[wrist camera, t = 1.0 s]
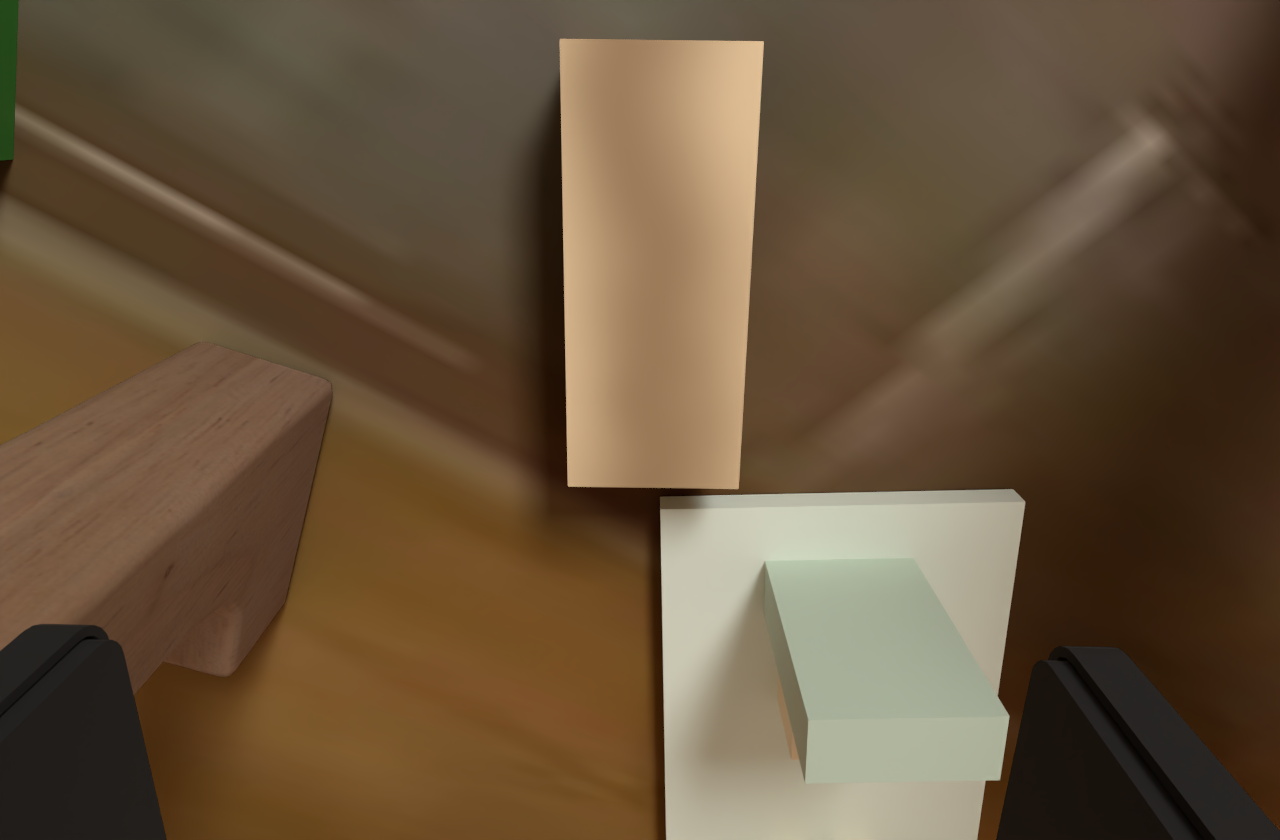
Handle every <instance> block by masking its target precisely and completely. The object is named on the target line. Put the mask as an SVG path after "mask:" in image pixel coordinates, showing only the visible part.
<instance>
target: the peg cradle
mask: <svg viewBox="0 0 1280 840" xmlns="http://www.w3.org/2000/svg"><path fill="white" fill-rule="evenodd" d="M1024 509H1025V501H1024V500H1023V499H1022V498H1021V497H1020V496H1019V495H1018V494H1017V493H1016V492H1015V491H1014V490H1013V489H997V490H949V491H902V492H854V493H806V494H759V495H711V496H664V497H660V535H661V591H662V647H663V703H664V759H665V815H666V840H977V837H978V830H979V823H980V816H981V809H982V802H983V795H984V788H985V781H986V780H1000V777H1001V770H1002V763H1003V757H1004V750H1005V744H1006V737H1007V730H1008V724H1009V717H1010V716H1009V715H1008V713H1007V711H1006V710H1005V708H1004V706H1003V705H1002V703H1001V701H1000V700H999V698H998V690H999V683H1000V676H1001V669H1002V662H1003V655H1004V648H1005V641H1006V634H1007V627H1008V620H1009V613H1010V606H1011V599H1012V592H1013V585H1014V578H1015V572H1016V565H1017V558H1018V551H1019V544H1020V537H1021V530H1022V523H1023V516H1024Z"/></svg>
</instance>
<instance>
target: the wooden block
mask: <svg viewBox="0 0 1280 840" xmlns="http://www.w3.org/2000/svg"><path fill="white" fill-rule="evenodd" d="M332 394H333V393H332V385H331V383H330V382H329V381H327V380H326V379H323V378H320V377H317V376H314V375H311V374H307V373H304V372H301V371H298V370H295V369H291V368H288V367H285V366H282V365H279V364H275V363H272V362H269V361H266V360H263V359H259V358H256V357H253V356H250V355H247V354H243V353H240V352H237V351H234V350H231V349H227V348H224V347H221V346H218V345H215V344H211V343H208V342H202V343H196V344H194V345H192V346H190V347H188V348H186V349H185V350H183V351H181V352H179V353H177V354H175V355H173V356H171V357H169V358H167V359H165V360H163V361H162V362H160V363H158V364H156V365H154V366H152V367H150V368H148V369H146V370H144V371H142V372H140V373H138V374H137V375H135V376H133V377H131V378H129V379H127V380H125V381H123V382H121V383H119V384H117V385H115V386H114V387H112V388H110V389H108V390H106V391H104V392H102V393H100V394H98V395H96V396H94V397H92V398H91V399H89V400H87V401H85V402H83V403H81V404H79V405H77V406H75V407H73V408H71V409H69V410H68V411H66V412H64V413H62V414H60V415H58V416H56V417H54V418H52V419H50V420H48V421H47V422H45V423H43V424H41V425H39V426H37V427H35V428H33V429H31V430H29V431H27V432H25V433H24V434H22V435H20V436H18V437H16V438H14V439H12V440H10V441H8V442H6V443H4V444H2V445H1V446H0V651H1V650H2V649H3V648H4V647H5V646H7V645H8V644H9V643H10V642H11V641H13V640H14V639H15V638H16V637H17V636H18V635H20V634H21V633H22V632H23V631H25V630H26V629H28V628H30V627H31V626H33V625H38V624H74V625H96V626H98V627H101V628H102V629H103V630H104V631H105V632H106V633H107V635H108V637H109V640H114V641H117V642H118V643H119V644H120V645H121V647H122V649H123V652H124V656H125V660H126V664H127V669H128V673H129V677H130V682H131V686H132V690H133V695H135V693H136V692H137V691H138V690H139V689H140V688H141V687H142V685H143V684H144V683H145V682H146V681H147V680H148V678H149V677H150V676H151V675H152V674H153V673H154V672H155V670H156V669H157V668H158V667H159V666H160V665H161V664H162V662H167V663H171V664H174V665H178V666H182V667H185V668H189V669H193V670H196V671H200V672H204V673H207V674H211V675H215V676H218V677H227V676H230V675H231V674H233V673H234V671H235V670H236V669H237V668H238V666H239V665H240V664H241V662H242V661H243V659H244V658H245V657H246V655H247V654H248V653H249V651H250V650H251V648H252V647H253V646H254V644H255V643H256V642H257V640H258V639H259V637H260V636H261V635H262V633H263V632H264V631H265V629H266V628H267V626H268V625H269V624H270V622H271V621H272V620H273V618H274V617H275V615H276V614H277V613H278V611H279V610H280V609H281V607H282V606H283V604H284V603H285V600H286V596H287V591H288V587H289V583H290V578H291V574H292V570H293V565H294V561H295V556H296V552H297V548H298V543H299V539H300V535H301V530H302V526H303V521H304V517H305V513H306V508H307V504H308V500H309V495H310V491H311V486H312V482H313V477H314V473H315V469H316V464H317V460H318V455H319V451H320V447H321V442H322V438H323V433H324V429H325V425H326V420H327V416H328V411H329V407H330V402H331V398H332Z"/></svg>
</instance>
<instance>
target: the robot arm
mask: <svg viewBox="0 0 1280 840" xmlns="http://www.w3.org/2000/svg"><path fill="white" fill-rule="evenodd" d="M0 840H166V835H165V830H164V826H163V822H162V817H161V813H160V808H159V804H158V800H157V795H156V791H155V787H154V782H153V778H152V774H151V769H150V765H149V760H148V756H147V752H146V747H145V743H144V739H143V734H142V730H141V725H140V721H139V717H138V712H137V708H136V704H135V699H134V695H133V690H132V686H131V682H130V677H129V673H128V669H127V664H126V660H125V656H124V652H123V649H122V647H121V645H120V644H119V643H118V642H117V641H114V640H109V637H108V635H107V633H106V632H105V631H104V630H103V629H102V628H101V627H98V626H96V625H74V624H38V625H33V626H31V627H30V628H28V629H26V630H25V631H23V632H22V633H21V634H20V635H18V636H17V637H16V638H15V639H14V640H13V641H11V642H10V643H9V644H8V645H7V646H5V647H4V648H3V649H2V650H1V651H0ZM996 840H1280V831H1279V830H1278V829H1277V828H1276V826H1275V825H1274V824H1273V823H1272V822H1271V821H1270V819H1269V818H1268V817H1267V816H1266V815H1265V814H1264V813H1263V811H1262V810H1261V809H1260V808H1259V807H1258V806H1257V804H1256V803H1255V802H1254V801H1253V800H1252V799H1251V798H1250V796H1249V795H1248V794H1247V793H1246V792H1245V791H1244V789H1243V788H1242V787H1241V786H1240V785H1239V784H1238V782H1237V781H1236V780H1235V779H1234V778H1233V777H1232V776H1231V774H1230V773H1229V772H1228V771H1227V770H1226V769H1225V767H1224V766H1223V765H1222V764H1221V763H1220V762H1219V761H1218V759H1217V758H1216V757H1215V756H1214V755H1213V754H1212V752H1211V751H1210V750H1209V749H1208V748H1207V747H1206V745H1205V744H1204V743H1203V742H1202V741H1201V740H1200V739H1199V737H1198V736H1197V735H1196V734H1195V733H1194V732H1193V730H1192V729H1191V728H1190V727H1189V726H1188V725H1187V724H1186V722H1185V721H1184V720H1183V719H1182V718H1181V717H1180V715H1179V714H1178V713H1177V712H1176V711H1175V710H1174V708H1173V707H1172V706H1171V705H1170V704H1169V703H1168V702H1167V700H1166V699H1165V698H1164V697H1163V696H1162V695H1161V693H1160V692H1159V691H1158V690H1157V689H1156V688H1155V686H1154V685H1153V684H1152V683H1151V682H1150V681H1149V680H1148V678H1147V677H1146V676H1145V675H1144V674H1143V673H1142V671H1141V670H1140V669H1139V668H1138V667H1137V666H1136V665H1135V663H1134V662H1133V661H1132V660H1131V659H1130V658H1129V656H1128V655H1127V654H1125V653H1124V652H1123V651H1122V650H1121V649H1118V648H1114V647H1085V646H1059V647H1057V648H1055V649H1054V650H1053V651H1052V652H1051V654H1050V656H1049V659H1048V660H1040V661H1038V662H1037V663H1036V664H1035V665H1034V667H1033V670H1032V673H1031V678H1030V683H1029V687H1028V692H1027V697H1026V701H1025V706H1024V711H1023V716H1022V720H1021V725H1020V730H1019V735H1018V739H1017V744H1016V749H1015V753H1014V758H1013V763H1012V768H1011V772H1010V777H1009V782H1008V787H1007V791H1006V796H1005V801H1004V805H1003V810H1002V815H1001V820H1000V824H999V829H998V834H997V839H996Z"/></svg>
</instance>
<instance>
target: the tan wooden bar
mask: <svg viewBox="0 0 1280 840" xmlns="http://www.w3.org/2000/svg"><path fill="white" fill-rule="evenodd" d="M763 47H764V41H691V40H613V39H560V88H561V143H562V198H563V253H564V308H565V363H566V418H567V473H568V487H632V488H704V489H739V473H740V455H741V437H742V420H743V402H744V384H745V366H746V349H747V331H748V313H749V295H750V278H751V260H752V242H753V224H754V206H755V189H756V171H757V153H758V135H759V118H760V100H761V82H762V64H763Z"/></svg>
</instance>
